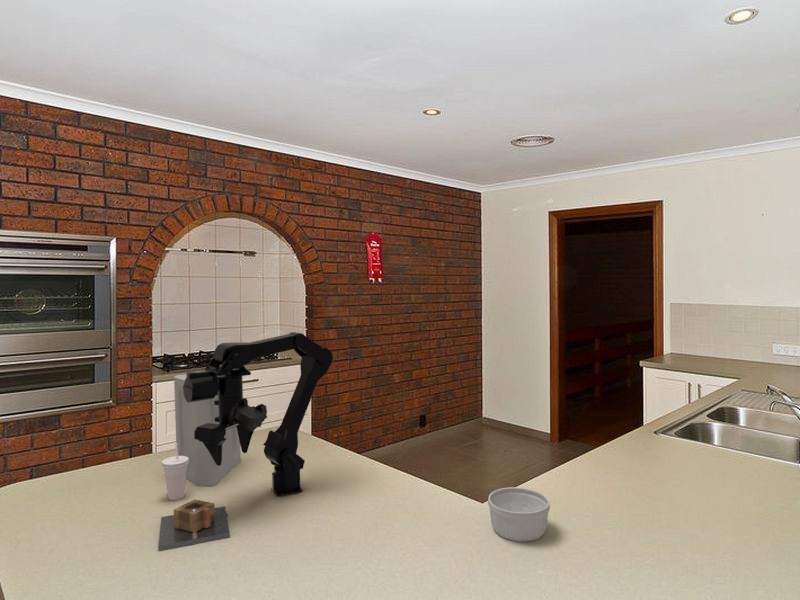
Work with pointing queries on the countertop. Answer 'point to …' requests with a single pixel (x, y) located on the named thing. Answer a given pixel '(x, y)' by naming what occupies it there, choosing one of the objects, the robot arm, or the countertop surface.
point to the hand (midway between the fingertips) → (232, 458)
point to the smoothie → (175, 475)
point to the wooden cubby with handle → (194, 515)
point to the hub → (180, 537)
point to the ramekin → (519, 513)
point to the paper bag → (200, 460)
